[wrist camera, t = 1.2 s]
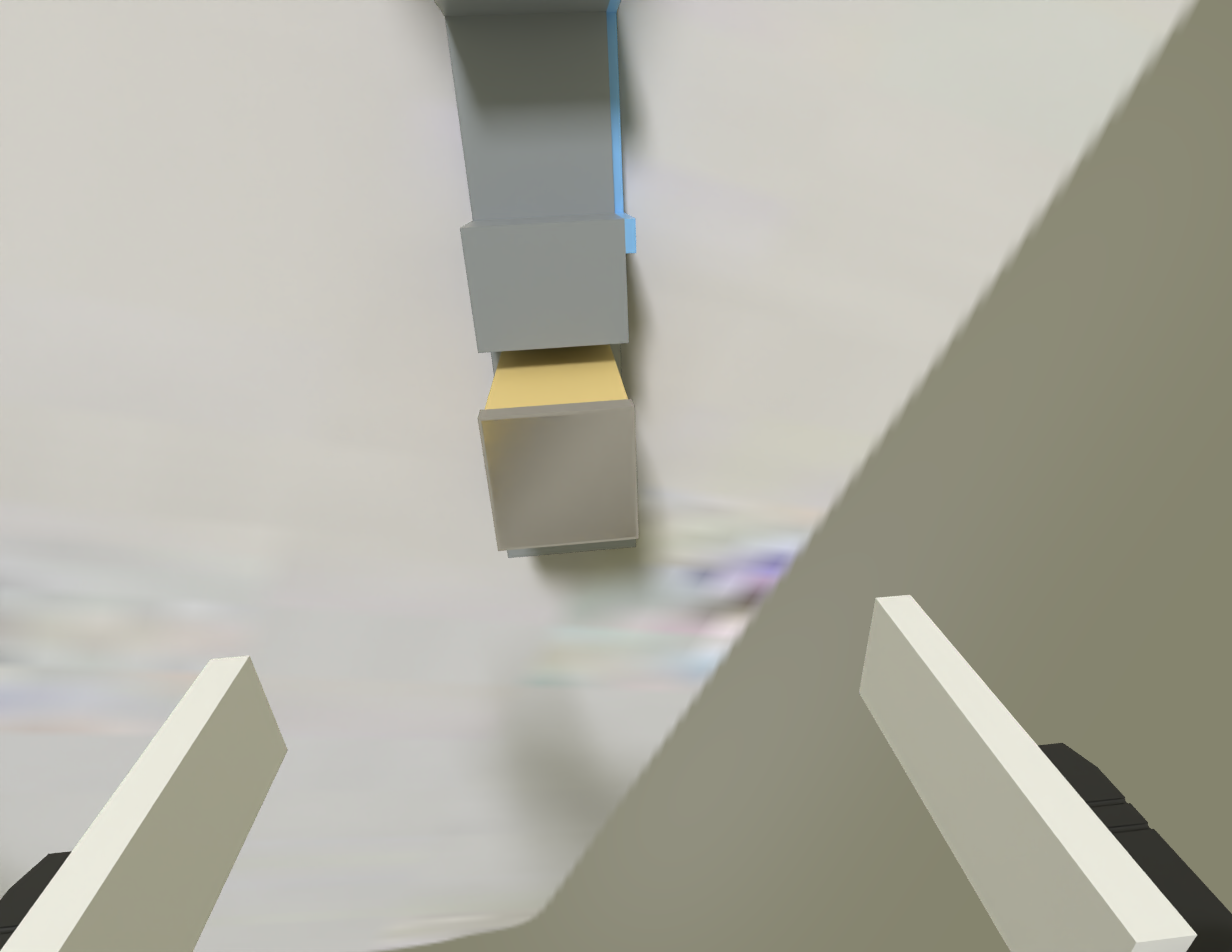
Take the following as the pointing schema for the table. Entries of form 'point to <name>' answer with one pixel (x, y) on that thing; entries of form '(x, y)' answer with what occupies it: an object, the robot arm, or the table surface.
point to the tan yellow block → (560, 449)
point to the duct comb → (542, 178)
